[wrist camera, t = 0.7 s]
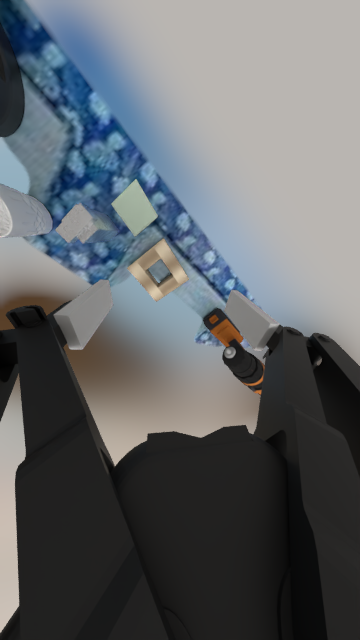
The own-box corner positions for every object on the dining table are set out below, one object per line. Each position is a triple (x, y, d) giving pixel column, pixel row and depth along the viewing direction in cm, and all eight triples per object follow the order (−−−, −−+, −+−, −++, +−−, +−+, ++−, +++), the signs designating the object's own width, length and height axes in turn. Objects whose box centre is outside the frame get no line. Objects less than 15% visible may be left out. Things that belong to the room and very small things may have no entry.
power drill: (189, 308, 43) (211, 374, 22) (207, 293, 41) (250, 351, 20) (223, 341, 53) (261, 409, 32) (239, 330, 51) (291, 396, 30)
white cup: (31, 240, 30) (-21, 242, 22) (0, 195, 26) (-80, 174, 17) (64, 233, 30) (24, 232, 22) (38, 186, 26) (-24, 162, 17)
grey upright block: (93, 229, 30) (49, 224, 19) (110, 212, 29) (74, 195, 17) (106, 244, 32) (73, 248, 20) (123, 228, 30) (97, 223, 19)
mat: (112, 204, 28) (111, 204, 28) (136, 180, 26) (135, 178, 26) (135, 236, 32) (134, 236, 31) (158, 216, 30) (158, 216, 29)
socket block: (130, 265, 35) (127, 268, 31) (163, 238, 32) (163, 238, 29) (157, 296, 40) (156, 301, 37) (187, 275, 38) (189, 279, 34)
